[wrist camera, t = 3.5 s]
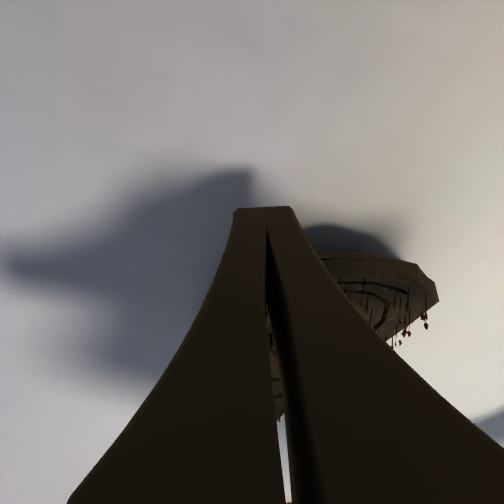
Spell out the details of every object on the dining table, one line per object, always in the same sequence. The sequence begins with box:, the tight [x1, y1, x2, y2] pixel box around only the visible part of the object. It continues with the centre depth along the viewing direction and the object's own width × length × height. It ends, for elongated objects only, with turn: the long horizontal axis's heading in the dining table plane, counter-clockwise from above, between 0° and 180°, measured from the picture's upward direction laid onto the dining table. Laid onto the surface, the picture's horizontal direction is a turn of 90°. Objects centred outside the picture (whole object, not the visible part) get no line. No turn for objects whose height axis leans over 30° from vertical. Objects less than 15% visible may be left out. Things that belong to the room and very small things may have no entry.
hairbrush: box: [266, 251, 439, 422], centre depth 22 cm, size 8×4×25 cm
